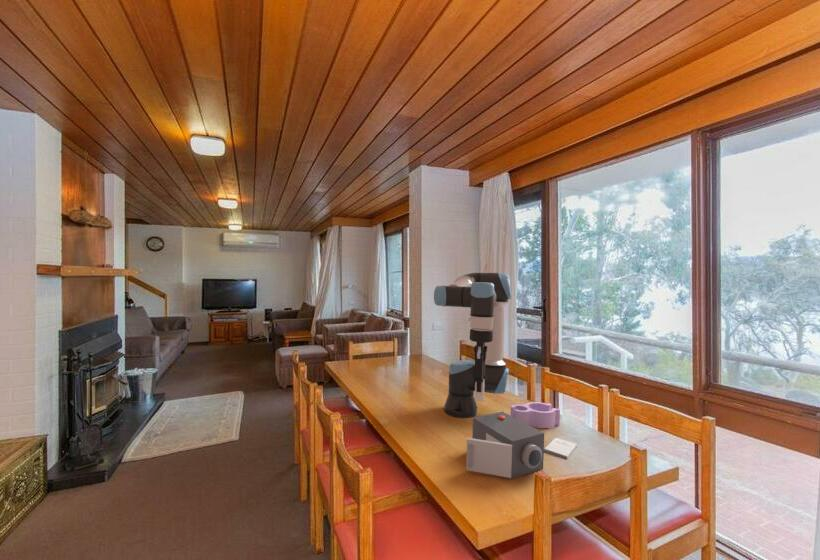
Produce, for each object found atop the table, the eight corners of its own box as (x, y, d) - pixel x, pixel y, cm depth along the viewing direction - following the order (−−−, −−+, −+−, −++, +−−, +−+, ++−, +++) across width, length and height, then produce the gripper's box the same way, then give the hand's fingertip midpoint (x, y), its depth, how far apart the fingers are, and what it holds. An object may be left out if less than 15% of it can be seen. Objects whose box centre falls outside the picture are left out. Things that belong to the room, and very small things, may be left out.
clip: (519, 430, 150) (519, 414, 149) (506, 418, 162) (506, 403, 162) (563, 428, 153) (563, 411, 153) (547, 416, 165) (547, 401, 165)
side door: (465, 471, 116) (466, 440, 116) (466, 468, 118) (467, 437, 118) (510, 479, 112) (511, 447, 111) (511, 476, 114) (512, 444, 114)
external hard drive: (543, 453, 132) (554, 441, 142) (567, 460, 127) (577, 447, 137) (543, 448, 132) (554, 436, 142) (567, 456, 127) (577, 443, 137)
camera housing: (471, 450, 132) (472, 415, 131) (501, 442, 138) (502, 409, 138) (518, 484, 111) (519, 442, 111) (550, 473, 118) (551, 434, 118)
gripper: (472, 325, 128) (471, 391, 129) (466, 331, 114) (464, 406, 114) (494, 326, 126) (492, 393, 127) (491, 333, 111) (488, 409, 112)
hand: (479, 399), depth 120 cm, fingers open, 2 cm apart
